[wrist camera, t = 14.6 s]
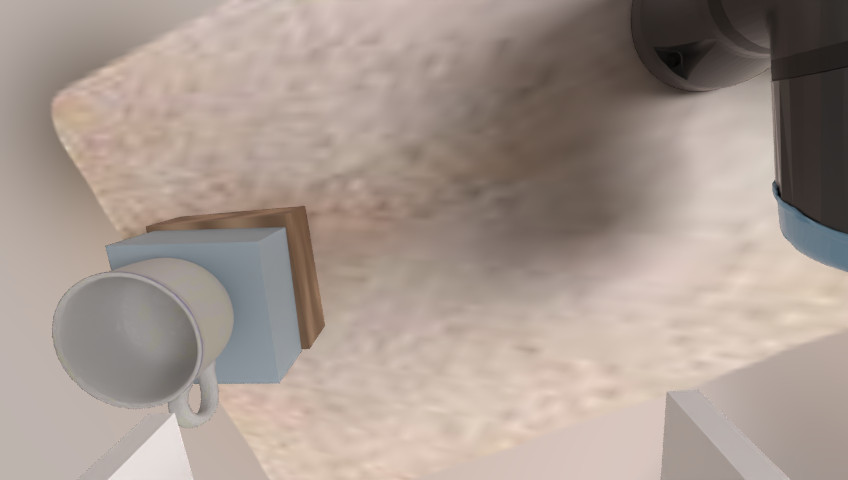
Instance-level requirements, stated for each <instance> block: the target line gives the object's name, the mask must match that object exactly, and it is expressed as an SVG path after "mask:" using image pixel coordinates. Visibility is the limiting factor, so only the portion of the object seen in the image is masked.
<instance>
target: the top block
mask: <svg viewBox="0 0 848 480" xmlns="http://www.w3.org/2000/svg"><path fill="white" fill-rule="evenodd" d="M106 250H107V254H108V258H109V262H110V266H111V270H115V269H118V268H121V267H124V266H127V265H130V264H133V263H137V262H141V261H145V260H149V259H156V258H176V259H182V260H186V261H189V262H192V263H195V264H197V265H199V266H201V267H203V268H205V269H206V270H207V271H209V272H210V273H211V274H213V275H214V276H215V277H216V278H217V279H218V280H219V281H220V282H221V284H222V285H223V286H224V288H225V289H226V291H227V293H228V295H229V297H230V300H231V303H232V307H233V313H234V323H233V330H232V333H231V336H230V339H229V341H228V343H227V345H226V346H225V348H224V350H223V351H222V352H221V354H220V355H219V356H218V357H217V358H216V359H215V361H216V367H215V373H216V378H217V383H218V384H245V383H280V381H281V380H282V378H283V377H284V376H285V374H286V373H287V371H288V370H289V368H290V367H291V365H292V364H293V363H294V361H295V360H296V358H297V357H298V355H299V354H300V352H301V351H302V350H301V342H300V335H299V327H298V319H297V312H296V304H295V297H294V289H293V281H292V274H291V266H290V258H289V251H288V243H287V235H286V228H285V227H269V228H235V229H202V230H168V231H152V232H149V233H146V234H143V235H139V236H136V237H133V238H129V239H126V240H123V241H120V242H116V243H113V244H110V245H107V246H106ZM193 384H199V380H198V377H197V378H196V379H195V380H194V382H193Z"/></svg>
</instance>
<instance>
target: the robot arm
mask: <svg viewBox="0 0 848 480" xmlns="http://www.w3.org/2000/svg"><path fill="white" fill-rule="evenodd" d="M631 27H632V35H633V40H634V43H635V47H636V49H637V52H638V54H639V56H640V58H641V60H642V61H643V63H644V64H645V66H646V67H647V68H648V69H649V71H650V72H651V73H652V74H653V75H655V76H656V77H657V78H658V79H660V80H661V81H663V82H664V83H666V84H668V85H670V86H673V87H676V88H679V89H682V90H688V91H708V90H714V89H719V88H724V87H729V86H733V85H736V84H739V83H742V82H744V81H747V80H749V79H751V78H753V77H755V76H757V75H759V74H760V73H762V72H764V71H765V70H767V69H768V68H769V67H771V73H772V81H771V87H772V112H773V137H774V161H775V181H774V182H773V184H772V185H773V188H772V190H773V194H774V197H775V198H776V200H777V202H778V212H779V222H780V228H781V231H782V233H783V235H784V237H785V238H786V239H787V240H788V241H789V242H790V243H791V244H792V245H793V246H794V247H795V248H796V249H797V250H798V251H800V252H801V253H803V254H804V255H806V256H808V257H810V258H812V259H814V260H816V261H818V262H820V263H823V264H825V265H828V266H830V267H833V268H836V269H839V270H843V271H846V272H848V0H633V5H632V14H631ZM77 480H193V476H192V473H191V469H190V466H189V462H188V458H187V455H186V451H185V448H184V444H183V441H182V437H181V434H180V430H179V426H178V423H177V419H176V416H175V413H158V414H148V415H147V416H146V417H145V418H144V419H143V420H141V421H140V423H138V424H137V425H136V426H135V427H134V428H133V429H132V430H131V431H129V432H128V433H127V434H126V435H125V436H124V437H123V438H122V439H121V440H120V441H118V443H116V444H115V445H114V446H113V447H112V448H111V449H110V450H109V451H108V452H106V453H105V454H104V455H103V456H102V457H101V458H100V459H99V460H98V461H97V462H96V463H94V464H93V465H92V466H91V467H90V468H89V469H88V470H87V471H86V472H85V473H84V474H83V475H81V476H80V477H79V478H78V479H77ZM661 480H790V479H789V478H788V477H787V476H786V475H785V474H784V473H783V472H782V471H781V470H780V469H779V468H778V467H777V466H776V465H775V464H774V463H773V462H772V461H771V460H770V459H768V457H767V456H766V455H764V453H763V452H762V451H760V450H759V449H758V448H757V447H756V446H755V445H754V444H753V443H752V442H751V441H750V440H749V439H748V438H747V437H746V436H745V435H744V434H743V433H742V432H741V431H740V430H739V429H738V428H737V427H736V426H735V425H734V424H733V423H732V422H731V421H730V420H729V419H728V418H726V416H725V415H724V414H722V412H721V411H720V410H719V409H718V408H717V407H716V406H714V405H713V404H712V403H711V402H710V401H709V400H708V399H707V398H706V397H705V396H704V395H703V394H702V393H701V392H700V391H699V390H683V391H667V395H666V410H665V426H664V440H663V455H662V469H661Z"/></svg>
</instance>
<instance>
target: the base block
mask: <svg viewBox="0 0 848 480" xmlns="http://www.w3.org/2000/svg"><path fill="white" fill-rule="evenodd" d="M269 227H285V228H286V235H287V243H288V251H289V258H290V266H291V274H292V281H293V289H294V297H295V304H296V312H297V319H298V327H299V335H300V342H301V349H310V347H311V346H312V344H313V343H314V341H315V340H316V338H317V337H318V335H319V334H320V332H321V331H322V329H323V328H324V326H325V322H324V316H323V310H322V304H321V298H320V293H319V287H318V281H317V275H316V269H315V263H314V257H313V251H312V245H311V239H310V233H309V227H308V221H307V215H306V209H305V206H301V207H289V208H277V209H266V210H254V211H243V212H231V213H219V214H208V215H196V216H184V217H179V218H175V219H172V220H168V221H165V222H161V223H158V224H154V225H151V226H147V227H146V229H147V233H149V232H152V231H168V230H202V229H235V228H269Z"/></svg>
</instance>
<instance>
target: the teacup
mask: <svg viewBox="0 0 848 480" xmlns="http://www.w3.org/2000/svg"><path fill="white" fill-rule="evenodd" d="M233 323H234V313H233V307H232V303H231V300H230V297H229V295H228V293H227V291H226V289H225V288H224V286H223V285H222V284H221V282H220V281H219V280H218V279H217V278H216V277H215V276H214V275H213V274H211V273H210V272H209V271H207V270H206V269H205V268H203V267H201V266H199V265H197V264H195V263H192V262H189V261H186V260H182V259H176V258H156V259H149V260H145V261H141V262H137V263H133V264H130V265H127V266H124V267H121V268H118V269H115V270H112V271H109V272H104V273H99V274H96V275H92V276H90V277H87V278H85V279H83V280H81V281H80V282H78V283H77V284H75V285H74V286H72V287H71V288H70V289H69V290H68V291H67V292H66V293H65V294H64V296H63V297H62V298H61V300H60V301H59V304H58V306H57V308H56V310H55V314H54V317H53V329H52V337H53V342H54V347H55V350H56V354H57V356H58V359H59V360H60V362H61V364H62V366H63V368H64V369H65V371H66V372H67V373H68V375H69V376H70V377H71V379H72V380H74V381H75V382H76V383H77V384H78V385H79V386H80V387H81V389H83V390H84V391H86V392H87V393H89V394H90V395H91V396H93V397H94V398H96V399H98V400H101V401H103V402H105V403H108V404H110V405H113V406H117V407H123V408H128V409H143V408H151V407H155V406H160V405H163V404H166V403H168V409H169V413H175V416H176V419H177V423H178V426H180V427H182V428H195V427H198V426H200V425H202V424H204V423H205V422H207V421H208V420H209V419H210V418H211V417H212V416H213V414H214V413H215V411H216V408H217V405H218V399H219V390H218V383H217V378H216V373H215V367H216V361H215V359H216V358H217V357H218V356H219V355H220V354H221V352H222V351H223V350H224V348H225V346H226V345H227V343H228V341H229V339H230V336H231V333H232V330H233ZM197 377H198V380H199V384H200V390H201V405H200V409H199V412H198V413H194V412H193V411H192V410H191V408H190V405H189V403H188V395H189V392H190V389H191V388H192V386H193V382H194V380H195V379H196V378H197Z"/></svg>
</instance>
